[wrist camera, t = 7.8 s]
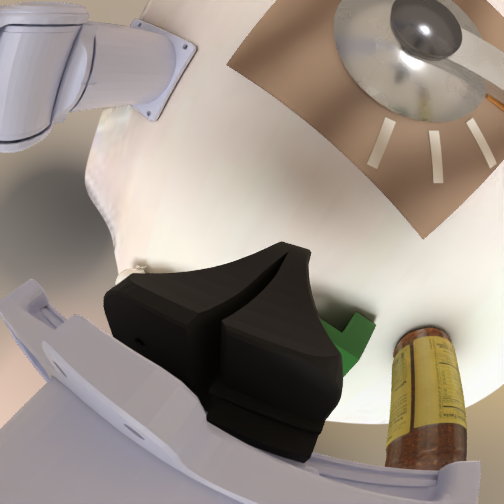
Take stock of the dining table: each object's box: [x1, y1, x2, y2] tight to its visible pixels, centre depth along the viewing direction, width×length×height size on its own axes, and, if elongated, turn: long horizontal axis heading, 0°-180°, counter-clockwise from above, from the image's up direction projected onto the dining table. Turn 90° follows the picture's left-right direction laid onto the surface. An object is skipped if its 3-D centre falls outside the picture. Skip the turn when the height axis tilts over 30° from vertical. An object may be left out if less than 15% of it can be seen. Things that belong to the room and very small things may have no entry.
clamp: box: [320, 312, 376, 377], centre depth 23 cm, size 12×6×9 cm, turn 160°
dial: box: [333, 0, 504, 122], centre depth 8 cm, size 13×10×4 cm
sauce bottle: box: [385, 327, 467, 471], centre depth 12 cm, size 6×6×20 cm
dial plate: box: [227, 0, 504, 239], centre depth 11 cm, size 18×18×2 cm
